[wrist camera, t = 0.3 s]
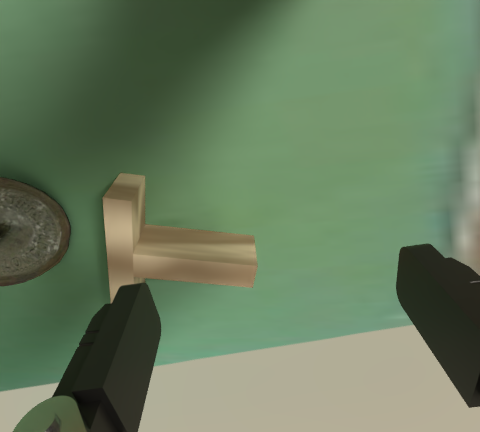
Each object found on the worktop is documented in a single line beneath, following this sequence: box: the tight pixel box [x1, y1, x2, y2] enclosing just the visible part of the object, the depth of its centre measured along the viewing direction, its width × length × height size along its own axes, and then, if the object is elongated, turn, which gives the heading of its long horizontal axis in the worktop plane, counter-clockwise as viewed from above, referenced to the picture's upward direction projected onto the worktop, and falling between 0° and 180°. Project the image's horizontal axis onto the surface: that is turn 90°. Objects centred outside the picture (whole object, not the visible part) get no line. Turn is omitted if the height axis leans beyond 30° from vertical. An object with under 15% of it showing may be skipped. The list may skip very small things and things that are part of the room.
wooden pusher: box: [103, 173, 257, 303], centre depth 28 cm, size 12×12×4 cm
